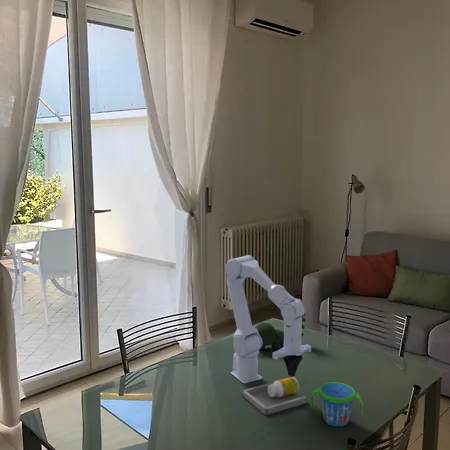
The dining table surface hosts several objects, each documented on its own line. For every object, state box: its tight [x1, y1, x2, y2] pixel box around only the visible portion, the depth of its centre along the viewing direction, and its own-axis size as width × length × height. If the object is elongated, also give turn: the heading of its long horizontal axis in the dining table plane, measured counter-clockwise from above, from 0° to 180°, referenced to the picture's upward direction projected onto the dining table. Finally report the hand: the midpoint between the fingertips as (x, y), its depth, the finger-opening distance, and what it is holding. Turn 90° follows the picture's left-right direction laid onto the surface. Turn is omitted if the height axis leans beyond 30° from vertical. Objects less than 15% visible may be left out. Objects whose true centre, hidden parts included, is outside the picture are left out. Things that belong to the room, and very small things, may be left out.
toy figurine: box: [254, 312, 307, 351], centre depth 209 cm, size 9×19×25 cm
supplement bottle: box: [268, 376, 300, 398], centre depth 168 cm, size 5×5×10 cm
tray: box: [241, 381, 308, 416], centre depth 166 cm, size 14×16×2 cm
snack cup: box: [309, 381, 364, 428], centre depth 153 cm, size 16×10×10 cm
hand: (291, 375), depth 169 cm, fingers closed
